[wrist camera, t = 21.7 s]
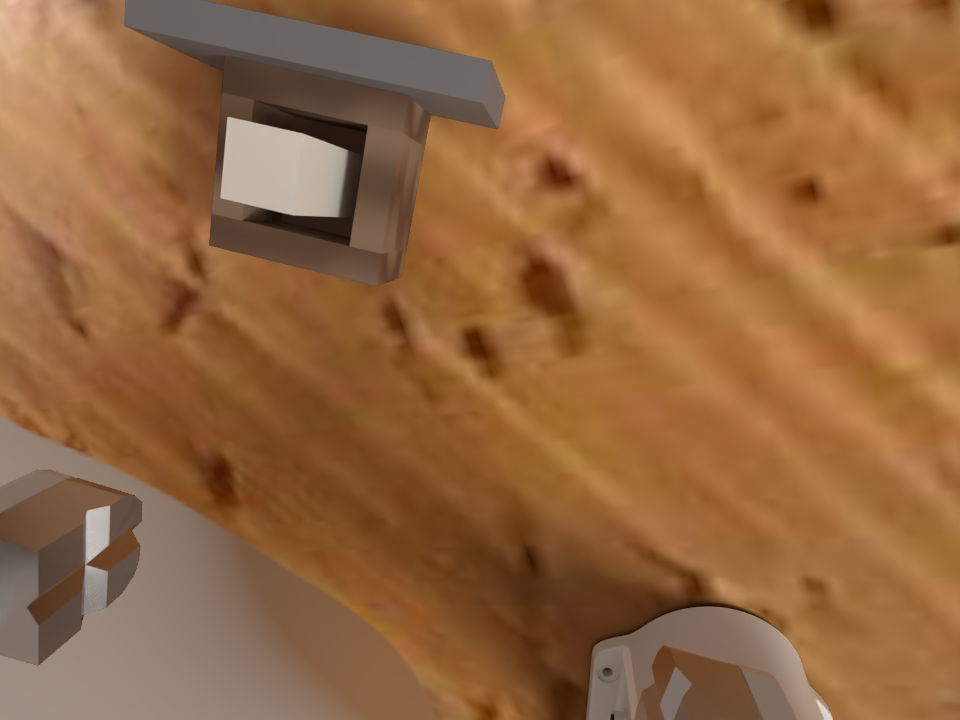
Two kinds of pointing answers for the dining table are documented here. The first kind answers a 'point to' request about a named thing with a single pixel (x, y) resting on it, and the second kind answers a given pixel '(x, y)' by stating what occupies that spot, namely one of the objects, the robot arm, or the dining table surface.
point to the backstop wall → (325, 55)
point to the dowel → (288, 171)
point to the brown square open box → (341, 122)
